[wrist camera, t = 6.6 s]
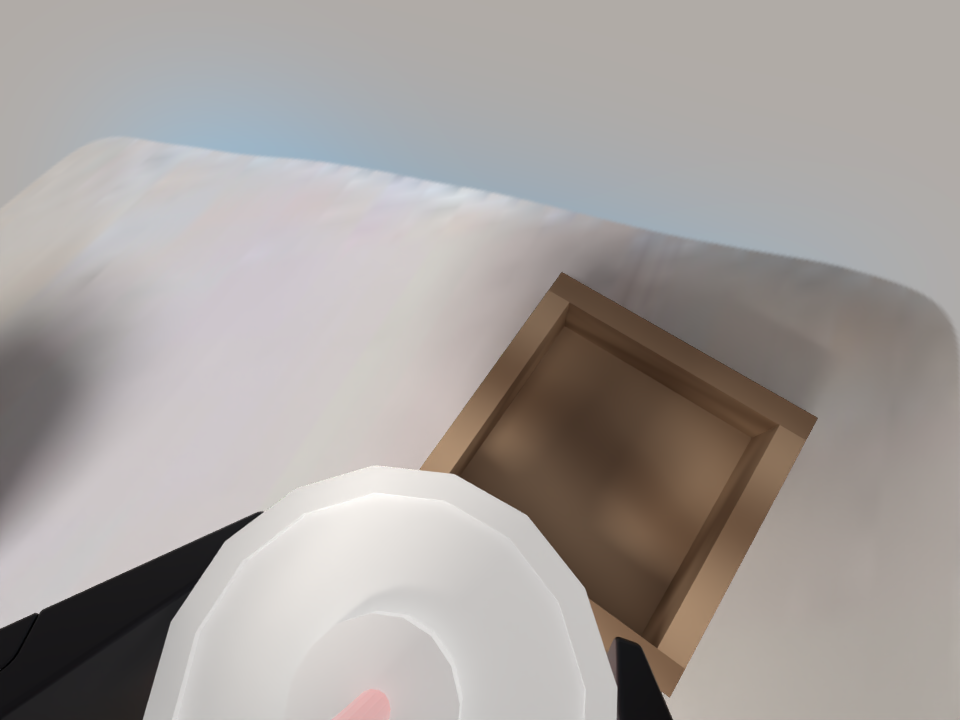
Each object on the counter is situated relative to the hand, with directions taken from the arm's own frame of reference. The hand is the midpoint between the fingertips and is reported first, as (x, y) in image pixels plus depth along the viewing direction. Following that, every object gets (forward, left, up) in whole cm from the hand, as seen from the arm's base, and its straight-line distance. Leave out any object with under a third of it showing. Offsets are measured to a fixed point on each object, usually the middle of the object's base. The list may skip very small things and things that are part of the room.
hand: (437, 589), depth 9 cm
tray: (+6, -2, -13) cm, 15 cm away
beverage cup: (-1, 0, -7) cm, 7 cm away
